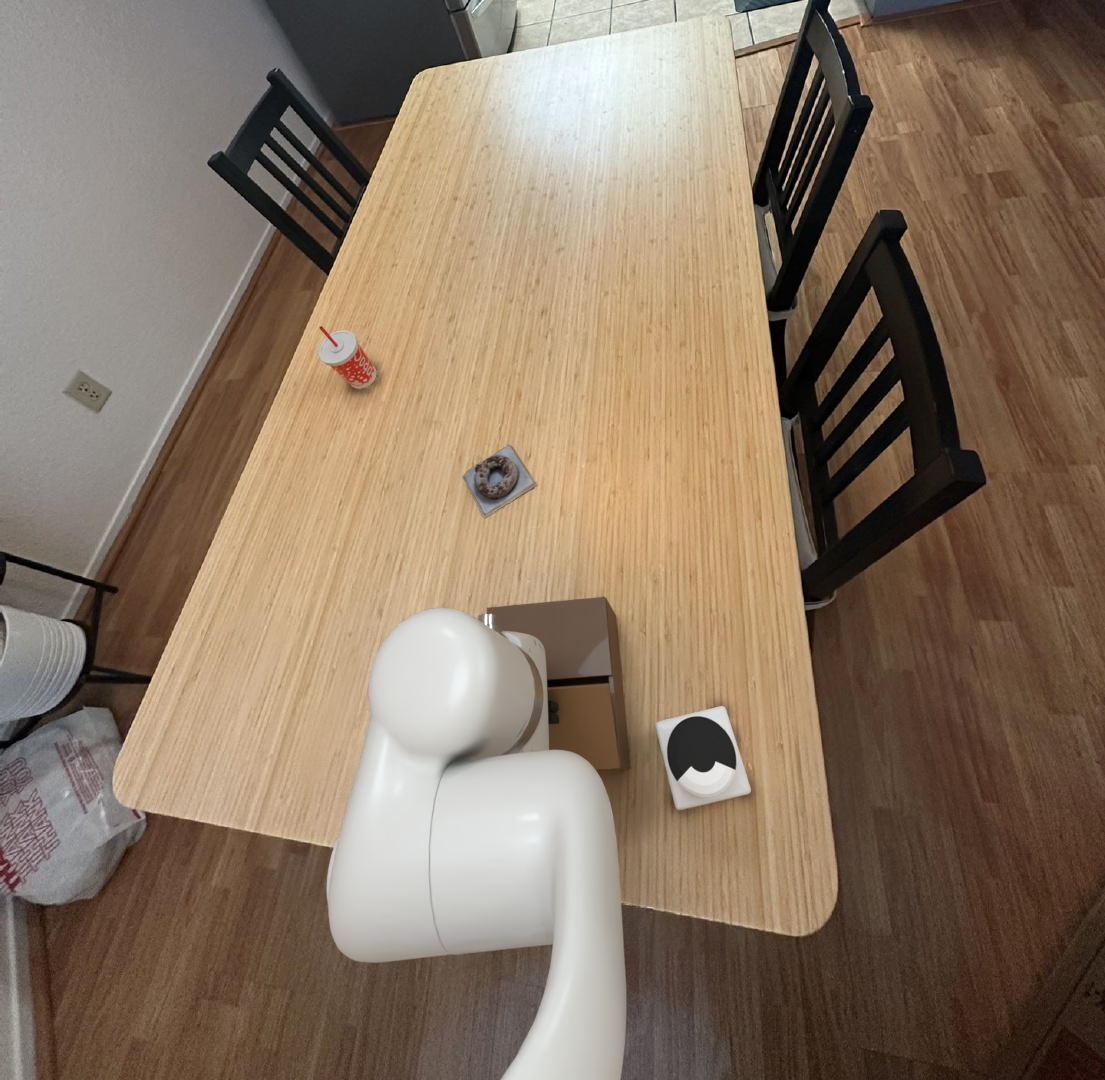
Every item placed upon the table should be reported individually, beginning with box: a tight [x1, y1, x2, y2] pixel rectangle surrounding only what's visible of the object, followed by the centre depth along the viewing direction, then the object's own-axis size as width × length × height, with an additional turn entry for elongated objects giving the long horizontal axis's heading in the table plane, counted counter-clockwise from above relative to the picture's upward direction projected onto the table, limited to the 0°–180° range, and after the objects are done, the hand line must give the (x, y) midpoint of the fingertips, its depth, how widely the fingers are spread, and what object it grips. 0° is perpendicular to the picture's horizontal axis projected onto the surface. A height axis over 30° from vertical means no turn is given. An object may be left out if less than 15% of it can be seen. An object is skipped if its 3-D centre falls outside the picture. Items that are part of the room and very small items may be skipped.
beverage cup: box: [318, 325, 377, 390], centre depth 96 cm, size 6×6×14 cm
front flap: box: [547, 683, 620, 771], centre depth 58 cm, size 7×13×1 cm
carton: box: [486, 596, 632, 771], centre depth 66 cm, size 15×13×10 cm
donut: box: [462, 444, 538, 519], centre depth 86 cm, size 8×8×2 cm
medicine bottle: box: [654, 705, 752, 811], centre depth 60 cm, size 7×7×12 cm
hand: (542, 714), depth 58 cm, fingers closed
